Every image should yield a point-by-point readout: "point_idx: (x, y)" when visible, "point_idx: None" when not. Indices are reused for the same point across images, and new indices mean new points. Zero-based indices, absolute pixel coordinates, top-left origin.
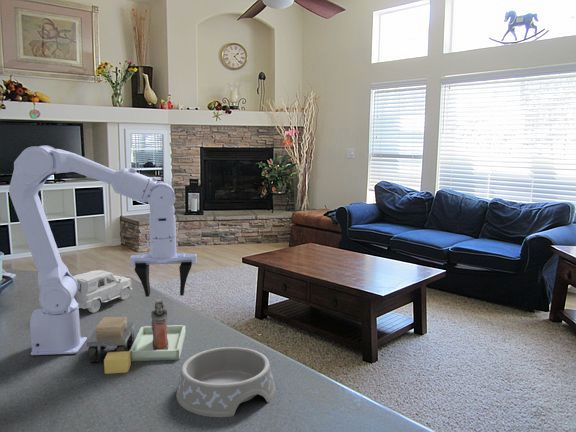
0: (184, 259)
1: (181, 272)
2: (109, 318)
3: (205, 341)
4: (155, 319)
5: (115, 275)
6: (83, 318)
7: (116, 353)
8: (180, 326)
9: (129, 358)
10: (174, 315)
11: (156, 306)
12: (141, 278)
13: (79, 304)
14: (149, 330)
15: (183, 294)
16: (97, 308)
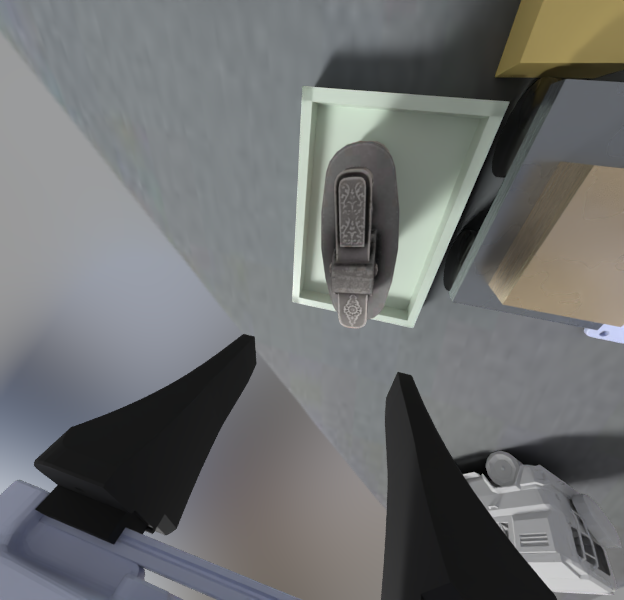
0: (19, 574)
1: (142, 434)
2: (596, 305)
3: (246, 224)
4: (385, 151)
5: None
6: (536, 438)
7: (604, 35)
8: (305, 297)
9: (521, 33)
10: (325, 382)
11: (370, 226)
12: (460, 489)
13: (556, 483)
14: (390, 311)
15: (240, 338)
16: (493, 460)
